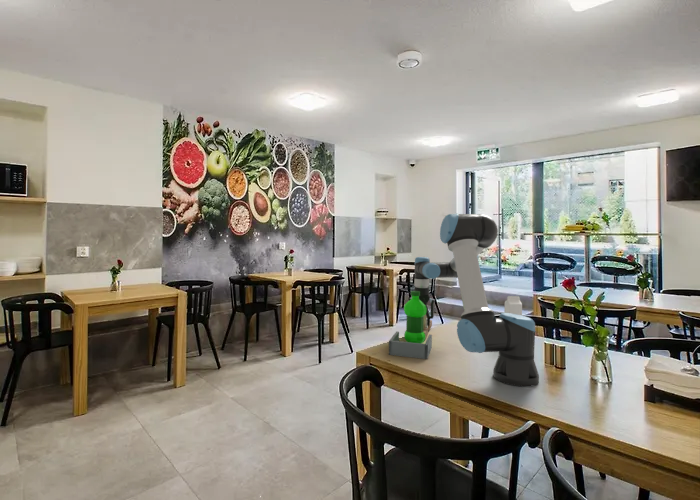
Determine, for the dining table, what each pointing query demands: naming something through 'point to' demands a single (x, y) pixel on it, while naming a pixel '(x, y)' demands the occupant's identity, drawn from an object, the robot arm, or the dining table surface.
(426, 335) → the scraper
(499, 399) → the dining table surface
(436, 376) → the dining table surface
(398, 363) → the dining table surface
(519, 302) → the milk
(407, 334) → the plastic bottle
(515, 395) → the dining table surface
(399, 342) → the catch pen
